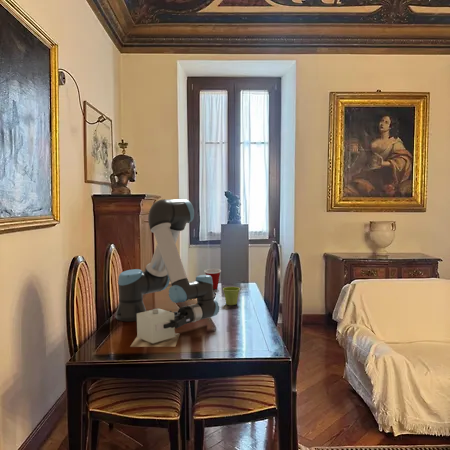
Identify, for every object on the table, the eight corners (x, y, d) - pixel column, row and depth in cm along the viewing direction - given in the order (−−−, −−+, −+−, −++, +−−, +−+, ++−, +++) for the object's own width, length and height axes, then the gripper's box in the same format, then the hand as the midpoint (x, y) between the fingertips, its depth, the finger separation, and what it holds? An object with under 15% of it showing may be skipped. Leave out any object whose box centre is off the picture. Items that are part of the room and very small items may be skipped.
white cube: (152, 343, 175) (151, 314, 174) (137, 337, 183) (136, 309, 182) (174, 336, 182) (174, 309, 181) (159, 331, 190) (158, 304, 189)
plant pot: (238, 306, 239) (238, 290, 239) (221, 305, 241) (221, 290, 241) (241, 302, 249) (241, 287, 248) (224, 301, 250) (224, 286, 250)
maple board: (130, 350, 175) (130, 346, 175) (138, 337, 191) (138, 333, 191) (175, 350, 175) (175, 346, 174) (180, 336, 190) (180, 333, 190)
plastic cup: (202, 290, 280) (202, 271, 279) (206, 286, 290) (206, 268, 289) (219, 290, 278) (219, 271, 277) (222, 287, 288) (222, 268, 288)
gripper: (207, 327, 186) (165, 340, 171) (173, 317, 203) (132, 327, 188) (207, 310, 186) (164, 321, 171) (173, 301, 203) (131, 310, 187)
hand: (147, 324), depth 179 cm, fingers closed on white cube, 11 cm apart
